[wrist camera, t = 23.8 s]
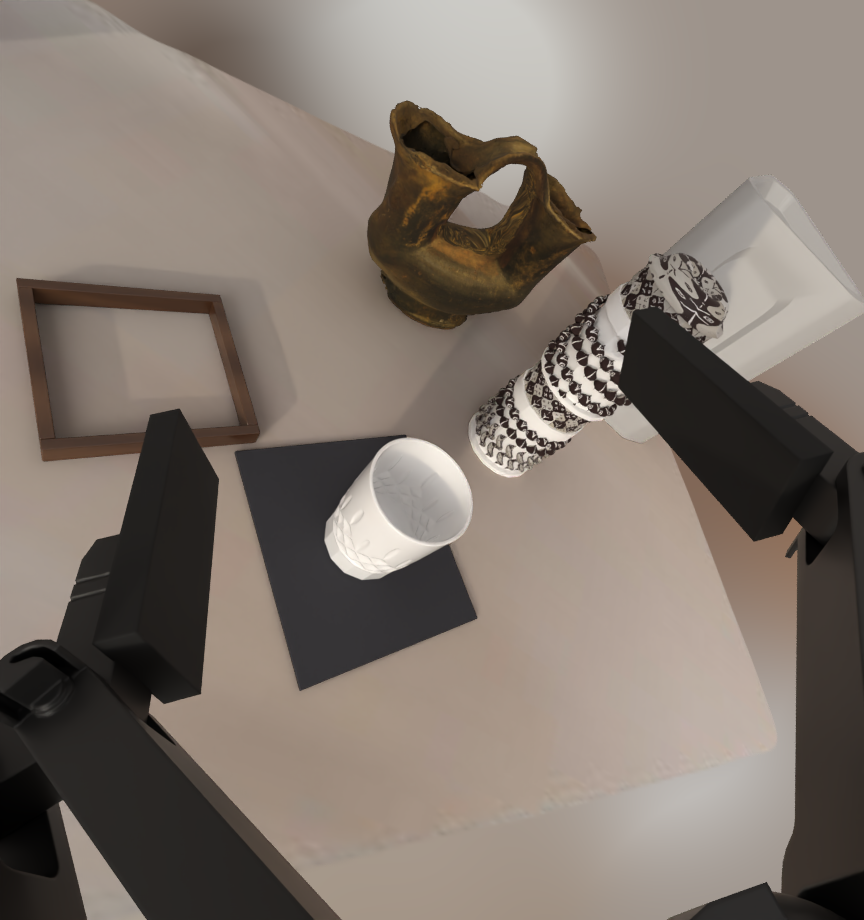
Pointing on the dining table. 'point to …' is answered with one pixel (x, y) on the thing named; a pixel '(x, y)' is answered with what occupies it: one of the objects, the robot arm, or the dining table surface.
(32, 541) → the dining table surface
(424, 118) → the pottery vessel
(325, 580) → the mat
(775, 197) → the white triangular vase
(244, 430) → the wooden frame
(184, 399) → the dining table surface
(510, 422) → the decorative candle
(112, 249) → the dining table surface
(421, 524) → the white cup
